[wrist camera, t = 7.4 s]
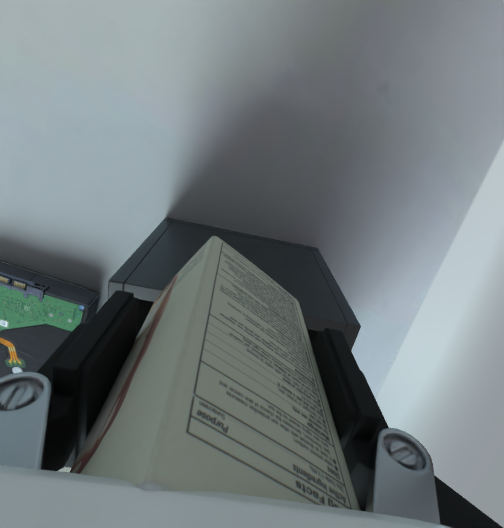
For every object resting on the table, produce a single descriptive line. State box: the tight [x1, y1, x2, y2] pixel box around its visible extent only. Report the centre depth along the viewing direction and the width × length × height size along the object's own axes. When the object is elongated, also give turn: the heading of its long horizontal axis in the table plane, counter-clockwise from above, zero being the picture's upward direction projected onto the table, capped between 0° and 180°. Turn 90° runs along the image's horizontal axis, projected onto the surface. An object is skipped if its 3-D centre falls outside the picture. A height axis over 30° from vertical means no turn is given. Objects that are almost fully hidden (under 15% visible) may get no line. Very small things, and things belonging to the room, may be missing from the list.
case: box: [108, 218, 361, 350], centre depth 26 cm, size 16×14×12 cm
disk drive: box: [0, 261, 99, 378], centre depth 31 cm, size 10×3×15 cm
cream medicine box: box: [70, 236, 361, 511], centre depth 10 cm, size 5×4×10 cm
